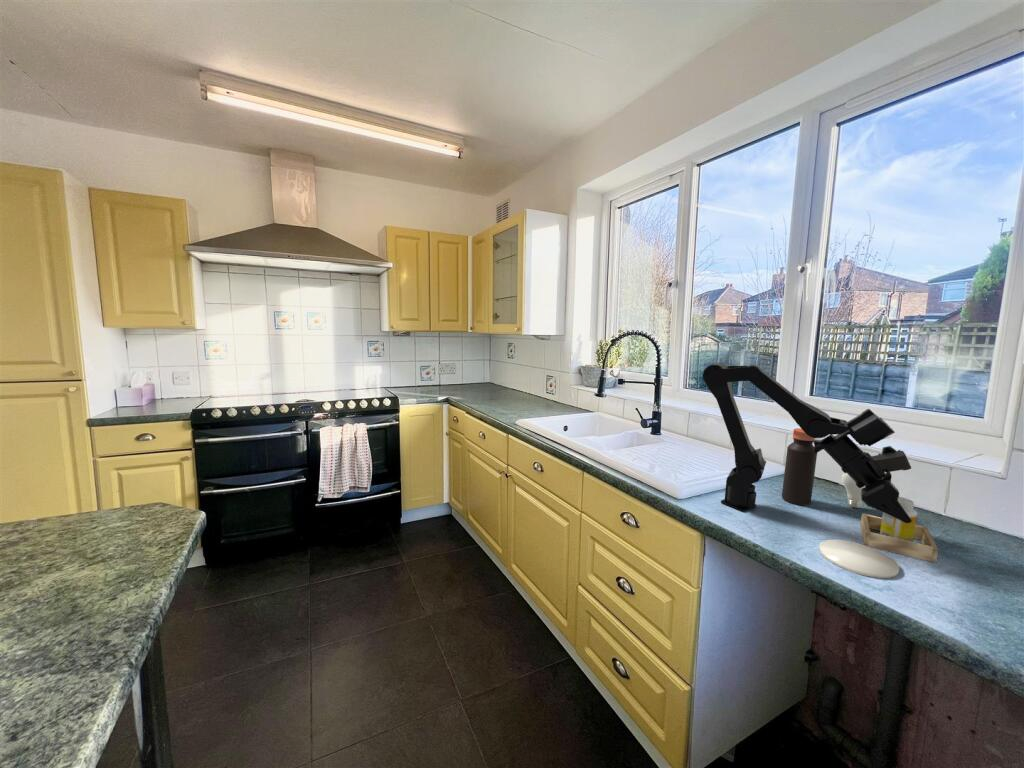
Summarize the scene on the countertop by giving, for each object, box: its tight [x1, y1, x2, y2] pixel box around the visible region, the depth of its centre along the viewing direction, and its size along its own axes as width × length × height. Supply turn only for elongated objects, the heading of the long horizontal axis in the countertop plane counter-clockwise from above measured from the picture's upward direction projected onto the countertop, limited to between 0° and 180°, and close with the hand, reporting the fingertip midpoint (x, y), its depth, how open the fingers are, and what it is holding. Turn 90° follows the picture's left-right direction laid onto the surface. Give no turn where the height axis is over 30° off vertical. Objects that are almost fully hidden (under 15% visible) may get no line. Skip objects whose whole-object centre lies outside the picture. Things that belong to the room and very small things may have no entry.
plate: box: [818, 539, 900, 579], centre depth 89 cm, size 13×13×1 cm
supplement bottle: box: [879, 496, 918, 542], centre depth 95 cm, size 6×6×10 cm
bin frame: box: [860, 513, 939, 564], centre depth 96 cm, size 12×12×3 cm
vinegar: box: [781, 427, 818, 506], centre depth 116 cm, size 7×7×20 cm
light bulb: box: [841, 472, 865, 509], centre depth 113 cm, size 7×7×11 cm
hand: (906, 514), depth 94 cm, fingers open, 9 cm apart
